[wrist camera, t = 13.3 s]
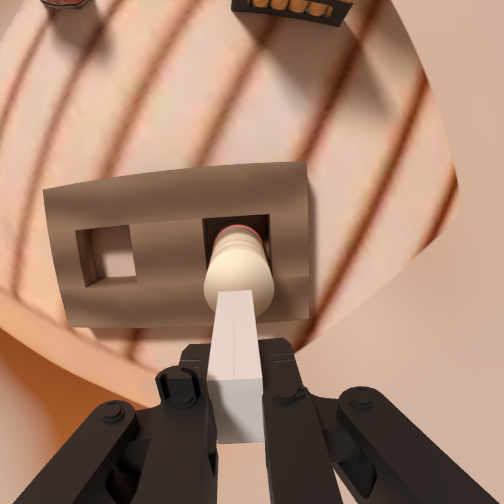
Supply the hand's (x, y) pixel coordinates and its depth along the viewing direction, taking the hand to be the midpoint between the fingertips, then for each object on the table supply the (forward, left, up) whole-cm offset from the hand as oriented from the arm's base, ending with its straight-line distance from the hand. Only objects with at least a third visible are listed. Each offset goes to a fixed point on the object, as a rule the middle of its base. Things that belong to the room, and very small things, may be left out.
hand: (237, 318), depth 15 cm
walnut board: (0, -6, -16) cm, 17 cm away
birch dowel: (0, 0, -16) cm, 16 cm away
